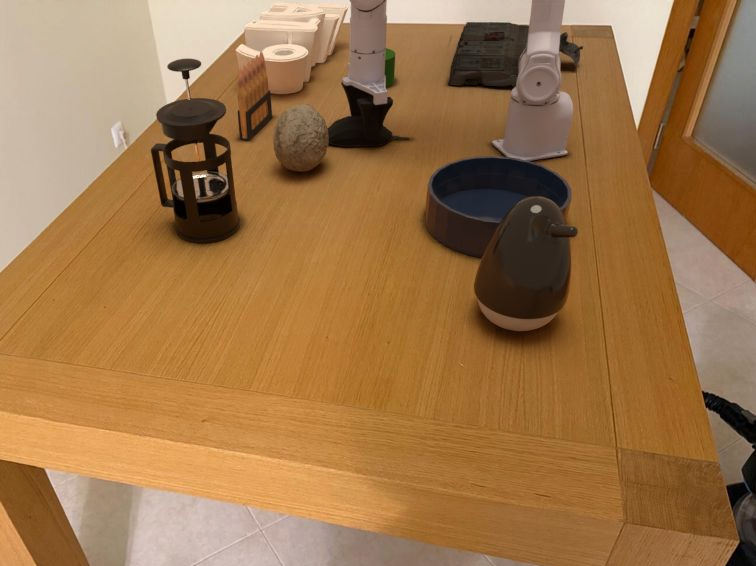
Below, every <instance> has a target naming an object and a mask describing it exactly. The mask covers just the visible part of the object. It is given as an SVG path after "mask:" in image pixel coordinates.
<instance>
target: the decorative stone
mask: <svg viewBox="0 0 756 566" xmlns="http://www.w3.org/2000/svg"><path fill="white" fill-rule="evenodd" d="M328 128H329V127H328V125H327V122H326V120H325V118H324V117H323V116H322V115H321V114H320V112H319V111H317V110H316V109H315V108H314V107H313V106H311V105H310V104H303V103H301V104H300V103H298V104H296V105H293V106H290V107H289V108H287V109H286V110H284V111H282V113H281V114H280V116H279V117H278V120H277V122H276V124H275V126H274V131H273V137H272V139H273V141H272V142H273V151H274V156H275V158H276V159H277V160H278V161H279V163H280V165H282V166H284V167H285V168H286V169H287V170H290V171H293V172H303V173H306V172H309V171H311V170H313V169H314V168H316V167H317V166H318V165H319V164H320V163H322V162H323V160H324V158H326V157H325V155H326V154H327V149H328V147H329V144H330V143H329V135H328Z"/></svg>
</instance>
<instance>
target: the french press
mask: <svg viewBox="0 0 756 566" xmlns="http://www.w3.org/2000/svg"><path fill="white" fill-rule="evenodd" d="M201 66H202V62H201V60H199V59H196V58H180V59H176V60H173V61H171V62H169V63H168V64H167V66H166V68H167V70H169V71H171V72H176V73H181V77H182V78H181V79H182V80H184V82H185V87H186V89H185V90H186V96H187V98H183V99H179V100H176V101H175V100H174V101H172V102H169V103H166V104H165V105H163V106H161V107H160V108H159V109H158V110H157V111H156V114H155V117H156V120H157V122H158V123H160V124H161V130H162V133H163V135H164V136H165V137H167V138H169V139H171V140H170V141H168V142H167V143H160V142H157V143H155V144H154V145H153V146H152V147H151V149H150V154H151V159H152V164H153V169H154V174H155V179H156V185H157V190H158V195H159V200H160V206H161V207H163V208H172V209H173V210H172V211H173V215H174V221H175V225H174V230H175V233H176V234H177V236H178V237H179V238H181V239H182V240H184V241H187V242H190V243H193V244H194V243H195V244H209V243H210V244H212V243H217V242H220V241H223V240H226V239H228V238H230V237H232V236H233V235H235V233H237V232H238V230H239V229H240V227H241V219H240V215H239V211H238V203H237V197H236V190H235V189H236V188H235V181H234V171H233V164H232V163H233V162H232V149H231V143H230V141H229V140H228V138H226V137H224V136H222V135H221V134H220V135H219V134H216V133H211V132H212V130H214V127H215V126H216V124H217V122H219V120H221V119H222V118H223V117H225V115H226V114H227V107H226V105H225V104H224V103H223V102H221V101H219V100H216V99H212V98H206V97H192V98H191V91H190V85H189V84H190V83H189V79H190V78H191V76H190V71H194V70H197V69H199V68H200V67H201ZM198 144H203V145H202V146H203V153H204V160H200V153H199V147H198V146H199V145H198ZM188 145H194V149H195V156H196V161H183V160H176V159H173V153H172V152H173V151H175V150H176V149H178V148H179V149H180V148H181V147H185V146H188ZM216 145H219V146H222V147H223V148H225V149H226V150H224V152H223V153H221V154H220V155H217V147H216ZM160 152H162V155H163V160H164V164H165V165H166V171H167V175H168V181H169V186H170V193H171V198H172V199H170V198H168V193H167V187H166V182H165V176H164V172H163V166H162V161H161V155H160ZM224 164H225V172H226V173H225V174H224V173H221V172H220V171H219V167H220V166H223V165H224ZM176 171H178V173H179V177H180V178H178V179H177V177H176ZM205 213H218V214H222V216H220V217H218V218H213V219H209V220H201V219H200V214H205Z"/></svg>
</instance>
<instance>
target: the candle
mask: <svg viewBox="0 0 756 566" xmlns="http://www.w3.org/2000/svg"><path fill="white" fill-rule="evenodd" d="M395 68H396V52H395V51H394V50H393V49H390V48H387V47H386V53H385V76H386V85H385V87H386V89H388V88H390V87H393V85H394V84H395V70H396V69H395Z"/></svg>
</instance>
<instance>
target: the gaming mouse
mask: <svg viewBox="0 0 756 566" xmlns="http://www.w3.org/2000/svg"><path fill="white" fill-rule="evenodd" d="M327 128H328V135H329V144H331V145H333V146H338V147H344V148H345V147H348V148H349V147H376V146H383V145H386V144H388V143H390V141H391V140H392V139H393V140H410V137H409V136H400V135H396V134H395V135H394V134H393V132H392V131H391V130H390V129H389V128H387V127H386V126H384V125H382V129H381V132H380V136H379V138H378V139H377V140H371V141H367V140H366V139H365V135H364V126H363V118H362V116H351V115H347V116H345V117H342V118H338V119H336V120H335V121H334V122H333V123H331V125H330V126H328V127H327Z"/></svg>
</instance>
